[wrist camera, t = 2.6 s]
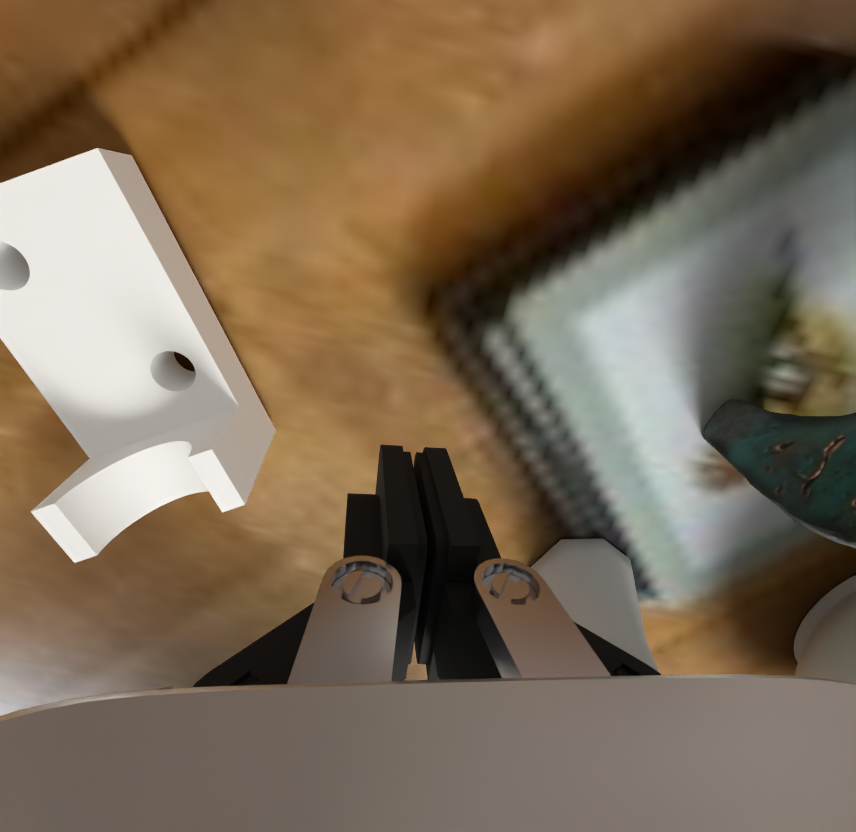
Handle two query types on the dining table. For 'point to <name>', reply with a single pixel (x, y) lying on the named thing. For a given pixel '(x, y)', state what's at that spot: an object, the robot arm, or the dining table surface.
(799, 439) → the cat figurine
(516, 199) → the dining table surface
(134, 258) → the bracket
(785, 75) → the dining table surface
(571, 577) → the flask
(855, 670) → the decorative bowl
